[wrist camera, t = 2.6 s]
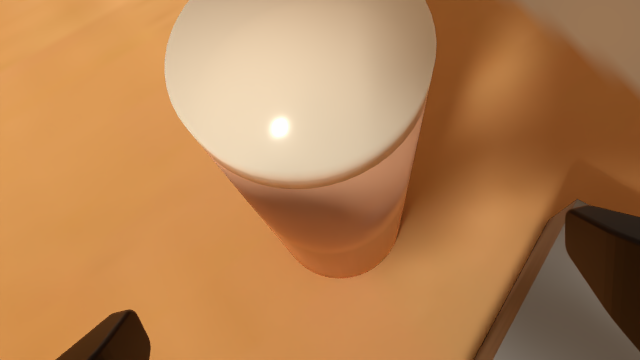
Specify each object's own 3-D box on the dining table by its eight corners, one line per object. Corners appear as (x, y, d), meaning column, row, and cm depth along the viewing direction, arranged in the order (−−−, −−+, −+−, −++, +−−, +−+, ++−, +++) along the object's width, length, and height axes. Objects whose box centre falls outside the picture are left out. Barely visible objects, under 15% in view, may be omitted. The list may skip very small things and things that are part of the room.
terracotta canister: (357, 302, 20) (334, 227, 8) (258, 236, 21) (110, 86, 9) (421, 201, 21) (487, 0, 9) (323, 145, 23) (269, -89, 11)
